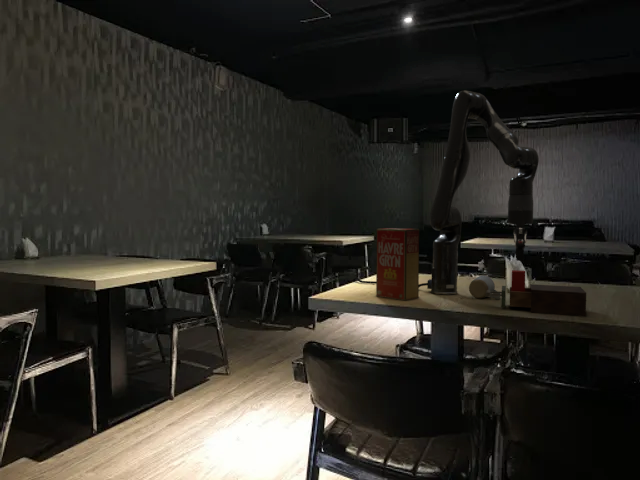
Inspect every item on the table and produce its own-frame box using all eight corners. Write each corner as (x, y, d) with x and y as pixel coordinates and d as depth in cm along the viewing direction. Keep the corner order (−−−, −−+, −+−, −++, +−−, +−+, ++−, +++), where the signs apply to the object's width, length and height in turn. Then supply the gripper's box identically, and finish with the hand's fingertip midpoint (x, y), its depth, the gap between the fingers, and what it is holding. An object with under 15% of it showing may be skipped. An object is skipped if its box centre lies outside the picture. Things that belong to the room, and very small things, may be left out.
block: (511, 302, 158) (511, 271, 158) (511, 300, 162) (511, 270, 162) (524, 303, 157) (525, 272, 157) (524, 301, 161) (525, 270, 160)
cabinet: (530, 312, 153) (531, 289, 152) (529, 305, 164) (529, 284, 164) (585, 316, 147) (586, 292, 147) (579, 308, 159) (580, 286, 158)
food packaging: (374, 296, 180) (375, 228, 179) (389, 293, 187) (390, 227, 186) (405, 301, 171) (406, 229, 170) (419, 297, 178) (420, 228, 176)
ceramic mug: (467, 297, 178) (468, 276, 177) (473, 294, 184) (474, 274, 184) (497, 301, 172) (498, 279, 171) (503, 298, 179) (504, 277, 178)
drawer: (484, 305, 158) (485, 289, 158) (486, 300, 169) (486, 284, 168) (549, 310, 151) (550, 293, 151) (546, 304, 162) (547, 288, 161)
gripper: (507, 209, 166) (507, 257, 167) (508, 209, 153) (507, 261, 154) (532, 209, 163) (531, 258, 164) (534, 209, 150) (533, 261, 151)
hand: (519, 259), depth 159 cm, fingers open, 8 cm apart
